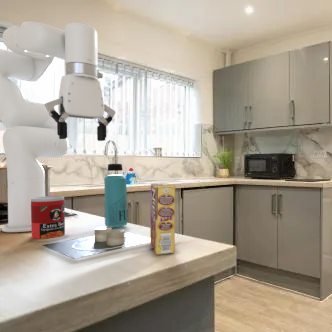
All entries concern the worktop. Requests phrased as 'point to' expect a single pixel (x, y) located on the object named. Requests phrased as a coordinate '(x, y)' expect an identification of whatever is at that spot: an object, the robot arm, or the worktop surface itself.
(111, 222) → the beverage bottle
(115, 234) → the puck eye
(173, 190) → the candy box
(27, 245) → the worktop surface
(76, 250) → the chalkboard
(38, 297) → the worktop surface
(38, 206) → the canned food
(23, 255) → the worktop surface
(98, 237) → the puck eye
